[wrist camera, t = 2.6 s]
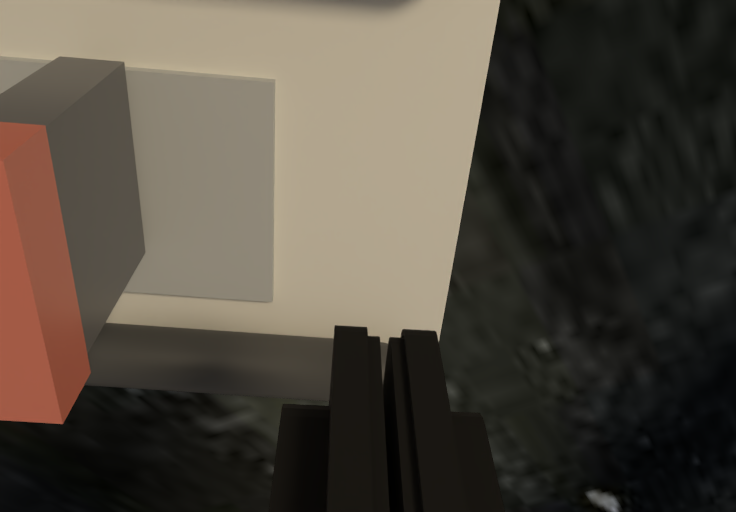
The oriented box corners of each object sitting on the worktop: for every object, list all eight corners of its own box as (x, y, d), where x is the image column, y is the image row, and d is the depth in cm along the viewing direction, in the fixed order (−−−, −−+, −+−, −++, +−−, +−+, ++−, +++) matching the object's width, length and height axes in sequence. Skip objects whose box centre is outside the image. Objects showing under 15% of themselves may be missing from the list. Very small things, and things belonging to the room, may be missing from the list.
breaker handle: (131, 54, 16) (3, 159, 11) (153, 258, 19) (62, 423, 14) (49, 47, 16) (-124, 150, 10) (84, 253, 19) (-34, 418, 14)
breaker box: (491, -146, 19) (547, -146, 13) (421, 305, 27) (435, 432, 21) (-228, -217, 18) (-527, -253, 12) (-71, 270, 26) (-202, 391, 20)
